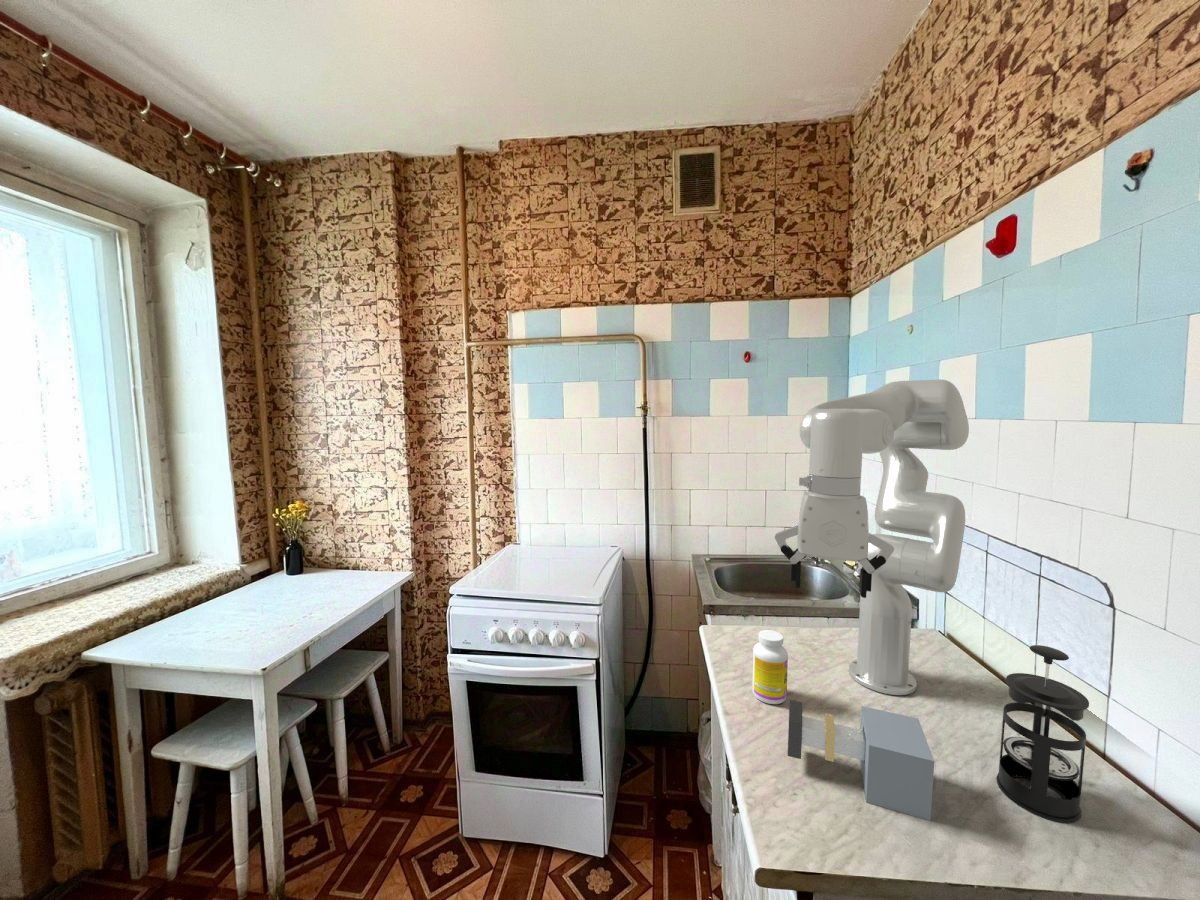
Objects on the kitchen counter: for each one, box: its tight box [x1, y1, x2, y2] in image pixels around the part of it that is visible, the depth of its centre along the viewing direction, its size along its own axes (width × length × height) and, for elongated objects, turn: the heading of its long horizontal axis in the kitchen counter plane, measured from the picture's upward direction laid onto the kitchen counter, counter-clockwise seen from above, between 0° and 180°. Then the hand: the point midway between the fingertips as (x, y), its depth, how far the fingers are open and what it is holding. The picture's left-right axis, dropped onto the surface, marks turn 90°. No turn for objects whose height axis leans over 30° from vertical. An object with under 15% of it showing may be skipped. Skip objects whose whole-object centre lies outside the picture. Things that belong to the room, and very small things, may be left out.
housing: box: [858, 705, 935, 822], centre depth 72 cm, size 10×8×9 cm
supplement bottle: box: [751, 629, 789, 705], centre depth 95 cm, size 7×7×13 cm
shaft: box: [787, 699, 866, 763], centre depth 75 cm, size 6×14×6 cm, turn 67°
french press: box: [995, 644, 1090, 824], centre depth 70 cm, size 12×9×23 cm
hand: (829, 590), depth 77 cm, fingers open, 9 cm apart
